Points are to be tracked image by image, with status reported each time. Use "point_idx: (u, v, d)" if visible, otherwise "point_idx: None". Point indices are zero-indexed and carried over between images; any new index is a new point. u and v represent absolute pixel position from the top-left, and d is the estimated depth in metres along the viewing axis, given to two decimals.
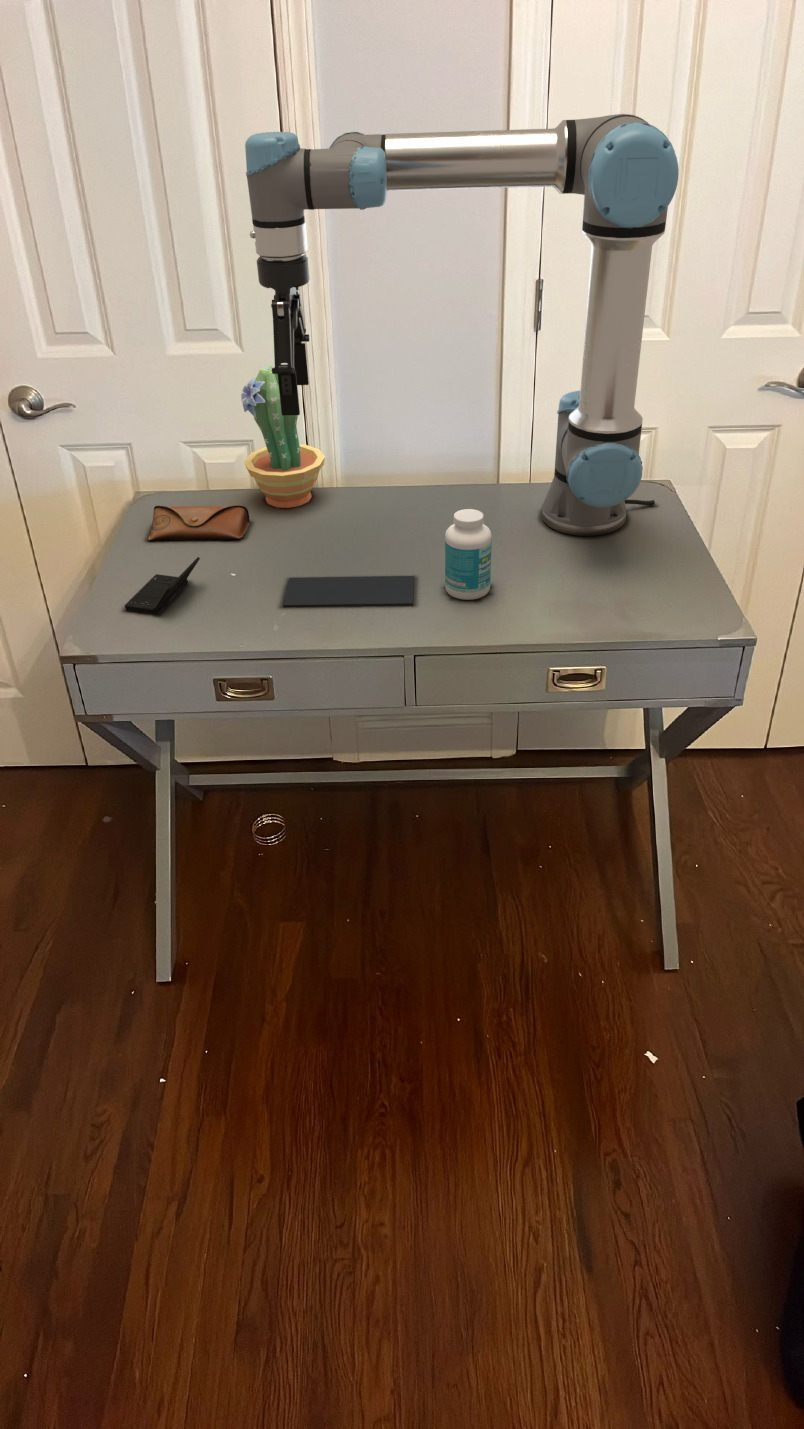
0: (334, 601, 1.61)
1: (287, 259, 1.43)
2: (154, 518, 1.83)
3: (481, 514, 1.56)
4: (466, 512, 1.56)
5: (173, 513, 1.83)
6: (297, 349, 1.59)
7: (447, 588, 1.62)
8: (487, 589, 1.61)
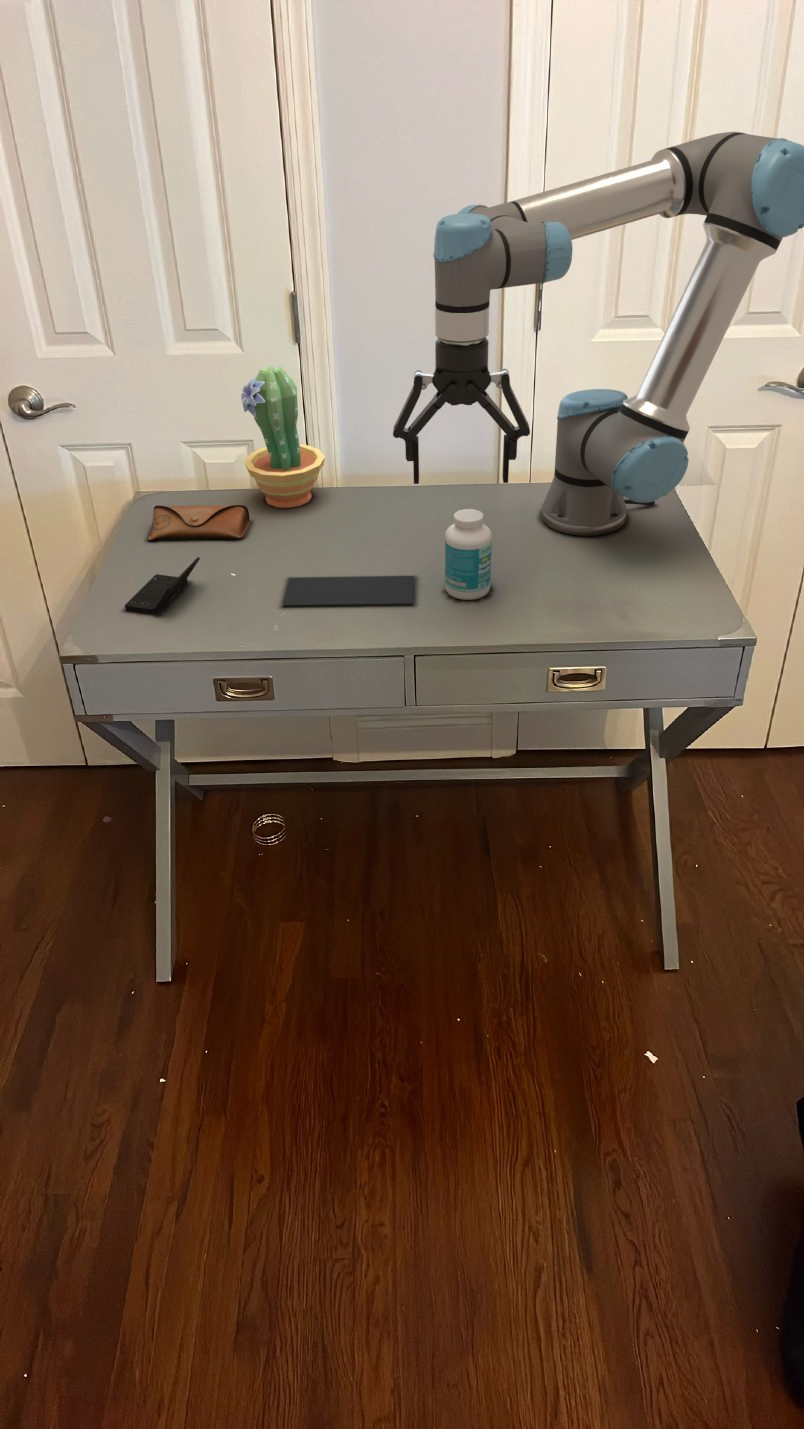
0: (334, 601, 1.61)
1: (441, 340, 1.39)
2: (154, 518, 1.83)
3: (481, 514, 1.56)
4: (466, 512, 1.56)
5: (173, 513, 1.83)
6: None
7: (447, 588, 1.62)
8: (487, 589, 1.61)
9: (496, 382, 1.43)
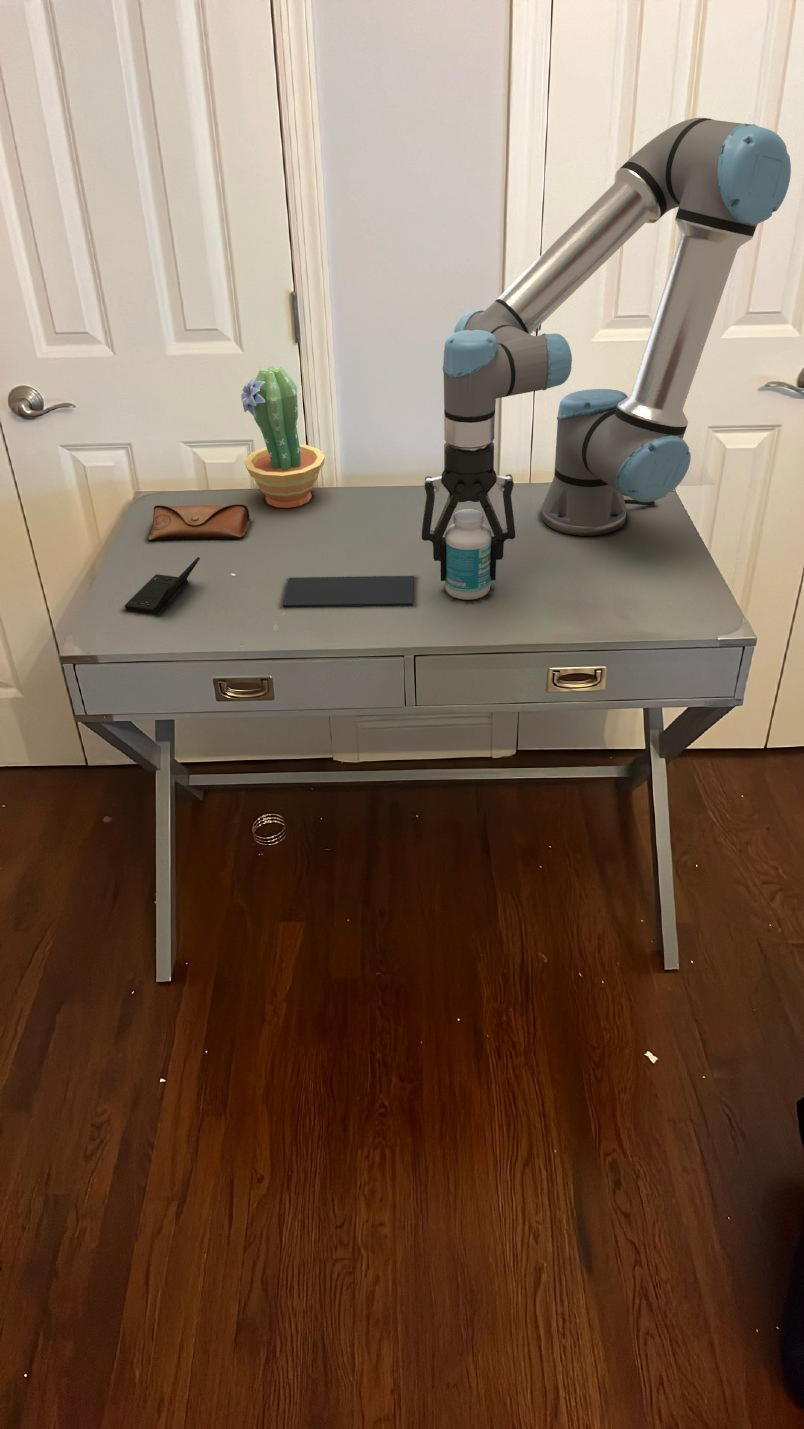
0: (334, 601, 1.61)
1: (449, 444, 1.47)
2: (154, 518, 1.83)
3: (481, 514, 1.56)
4: (466, 512, 1.56)
5: (173, 513, 1.83)
6: (491, 544, 1.58)
7: (447, 588, 1.62)
8: (487, 589, 1.61)
9: (500, 485, 1.52)
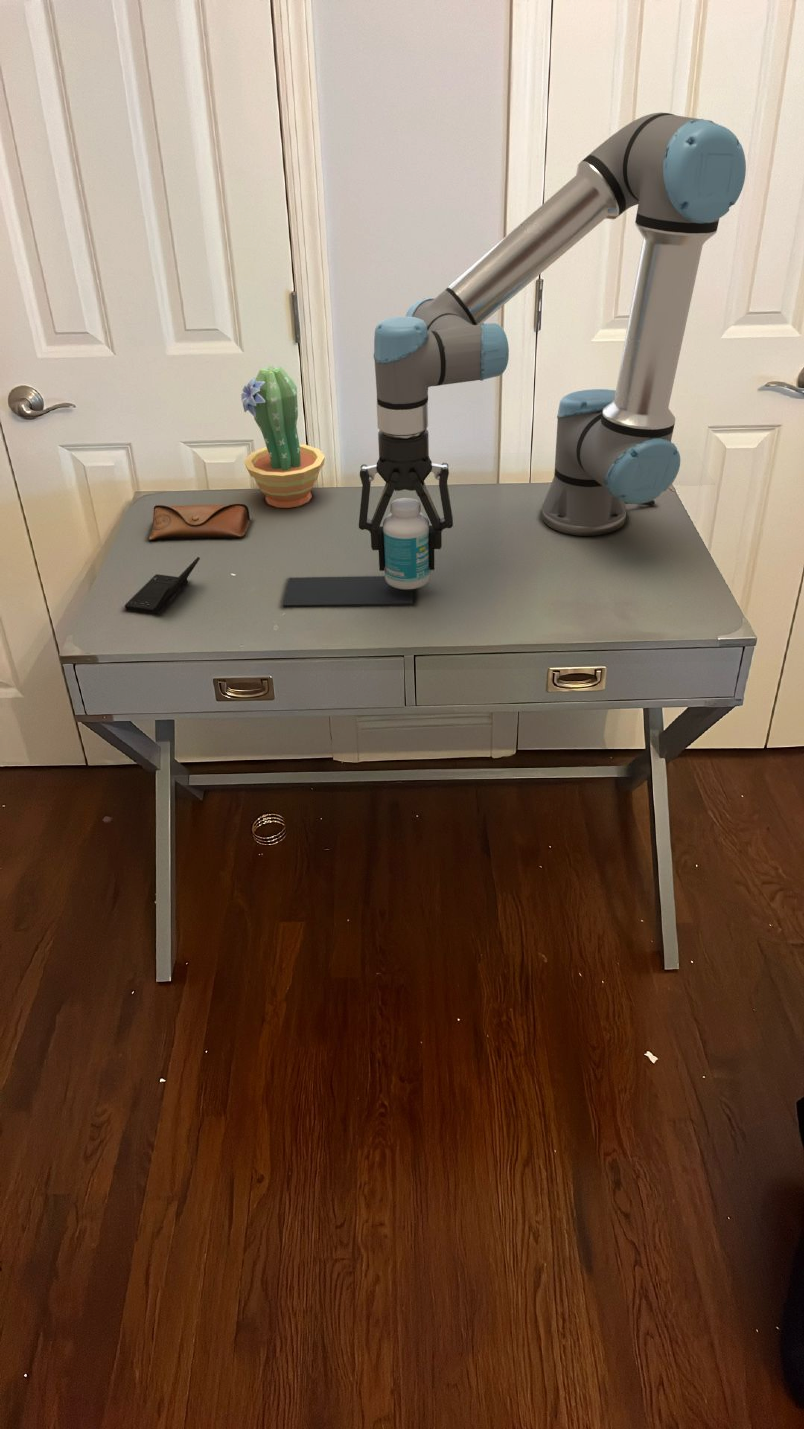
0: (334, 601, 1.61)
1: (383, 432, 1.46)
2: (154, 518, 1.83)
3: (418, 503, 1.55)
4: (403, 501, 1.55)
5: (173, 512, 1.83)
6: None
7: (386, 578, 1.61)
8: (426, 578, 1.60)
9: (435, 473, 1.51)
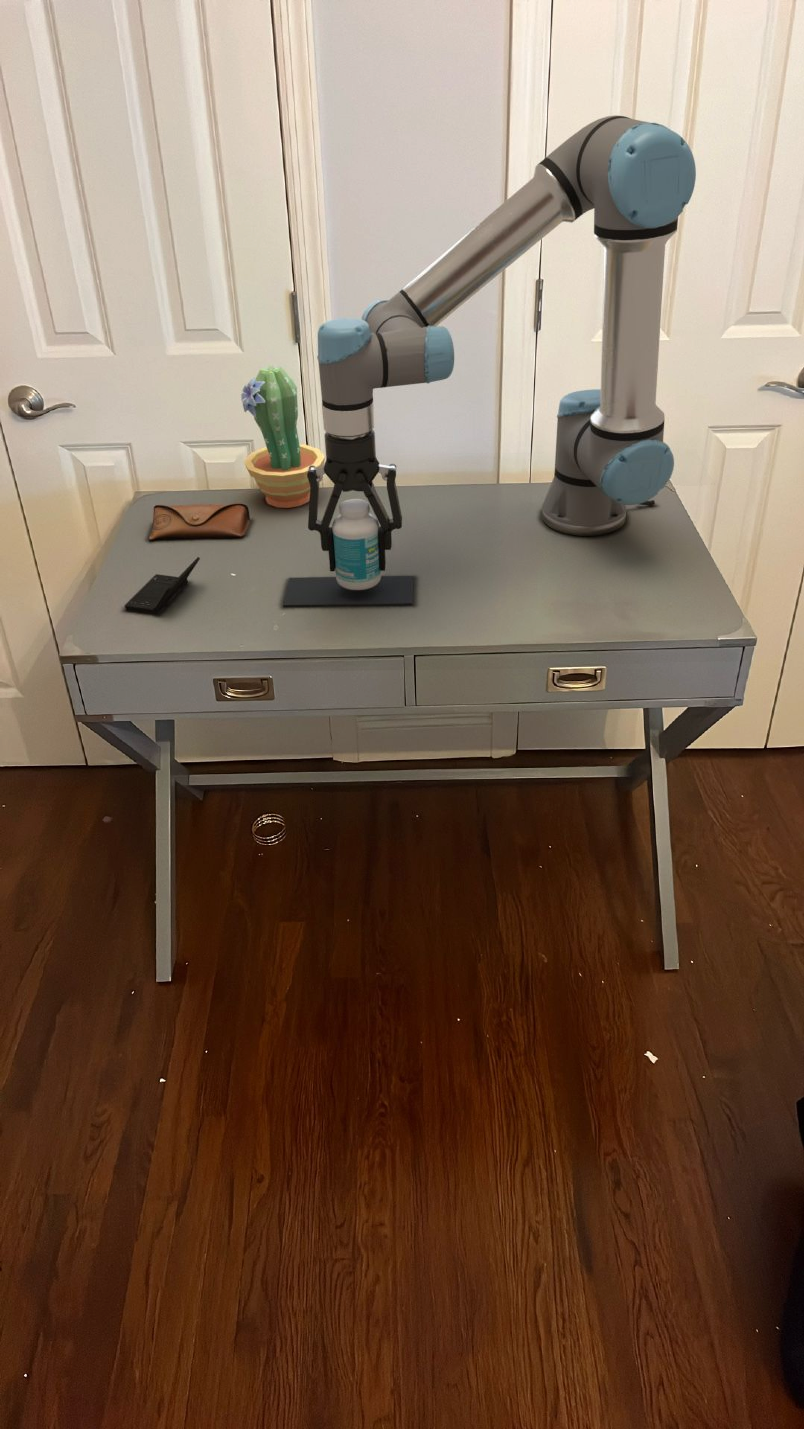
0: (334, 601, 1.61)
1: (329, 433, 1.47)
2: (154, 517, 1.83)
3: (367, 504, 1.55)
4: (352, 502, 1.56)
5: (173, 512, 1.83)
6: None
7: (337, 578, 1.61)
8: (377, 579, 1.60)
9: (383, 474, 1.51)
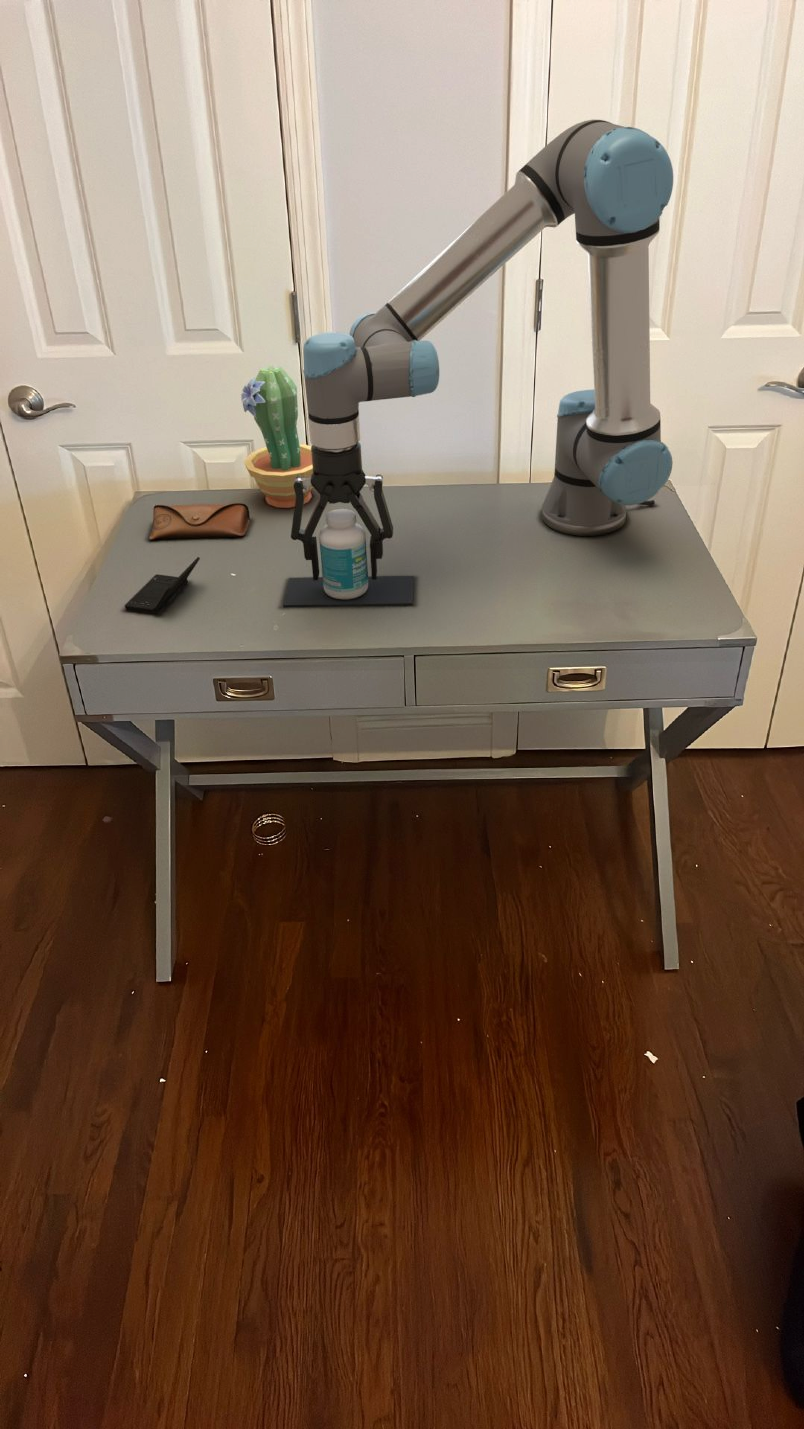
0: (334, 601, 1.61)
1: (315, 446, 1.48)
2: (154, 517, 1.83)
3: (353, 514, 1.56)
4: (339, 512, 1.57)
5: (174, 512, 1.83)
6: None
7: (324, 588, 1.62)
8: (364, 588, 1.62)
9: (369, 485, 1.52)
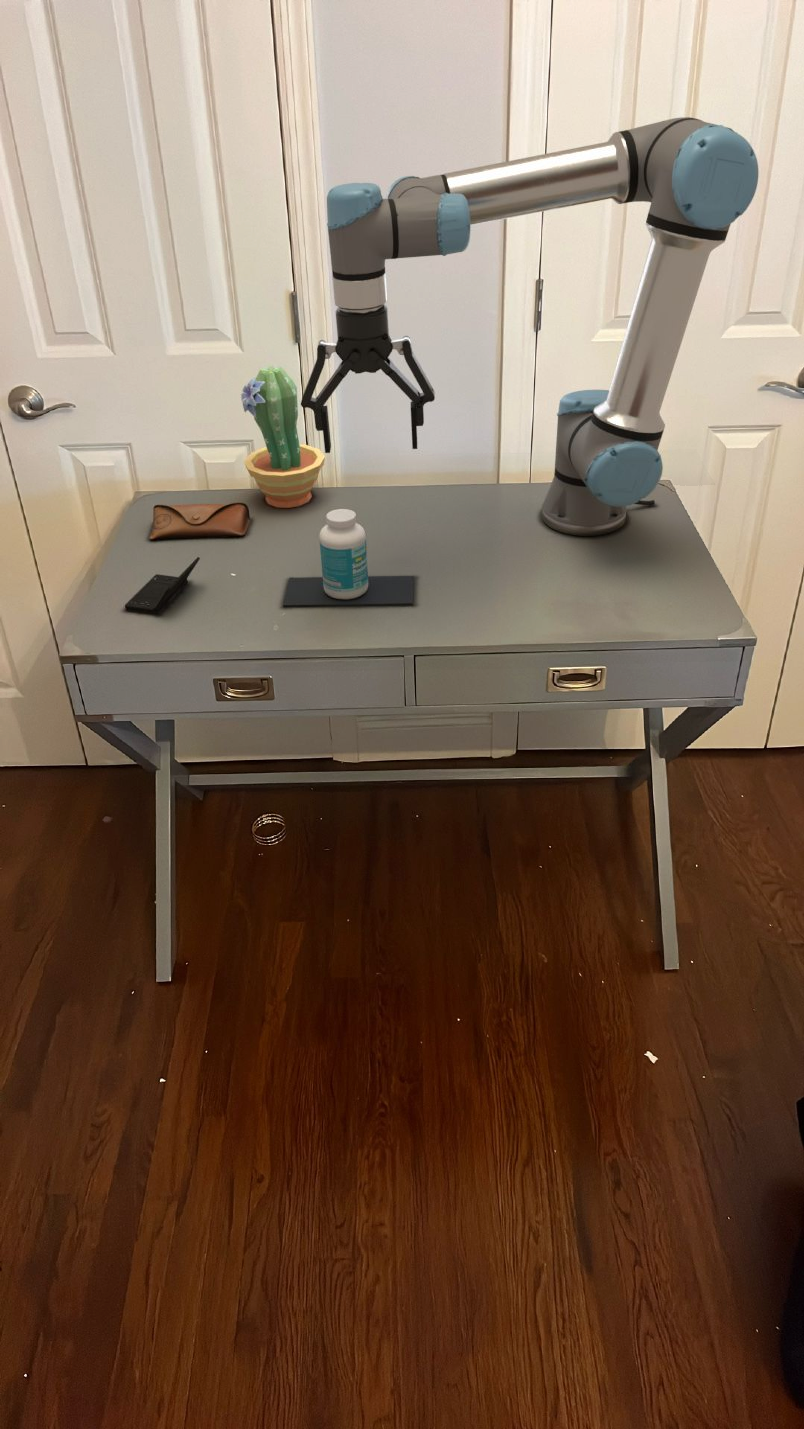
0: (334, 601, 1.61)
1: (340, 309, 1.42)
2: (155, 517, 1.83)
3: (353, 514, 1.56)
4: (339, 512, 1.57)
5: (174, 512, 1.83)
6: None
7: (324, 588, 1.62)
8: (364, 588, 1.62)
9: (398, 349, 1.46)
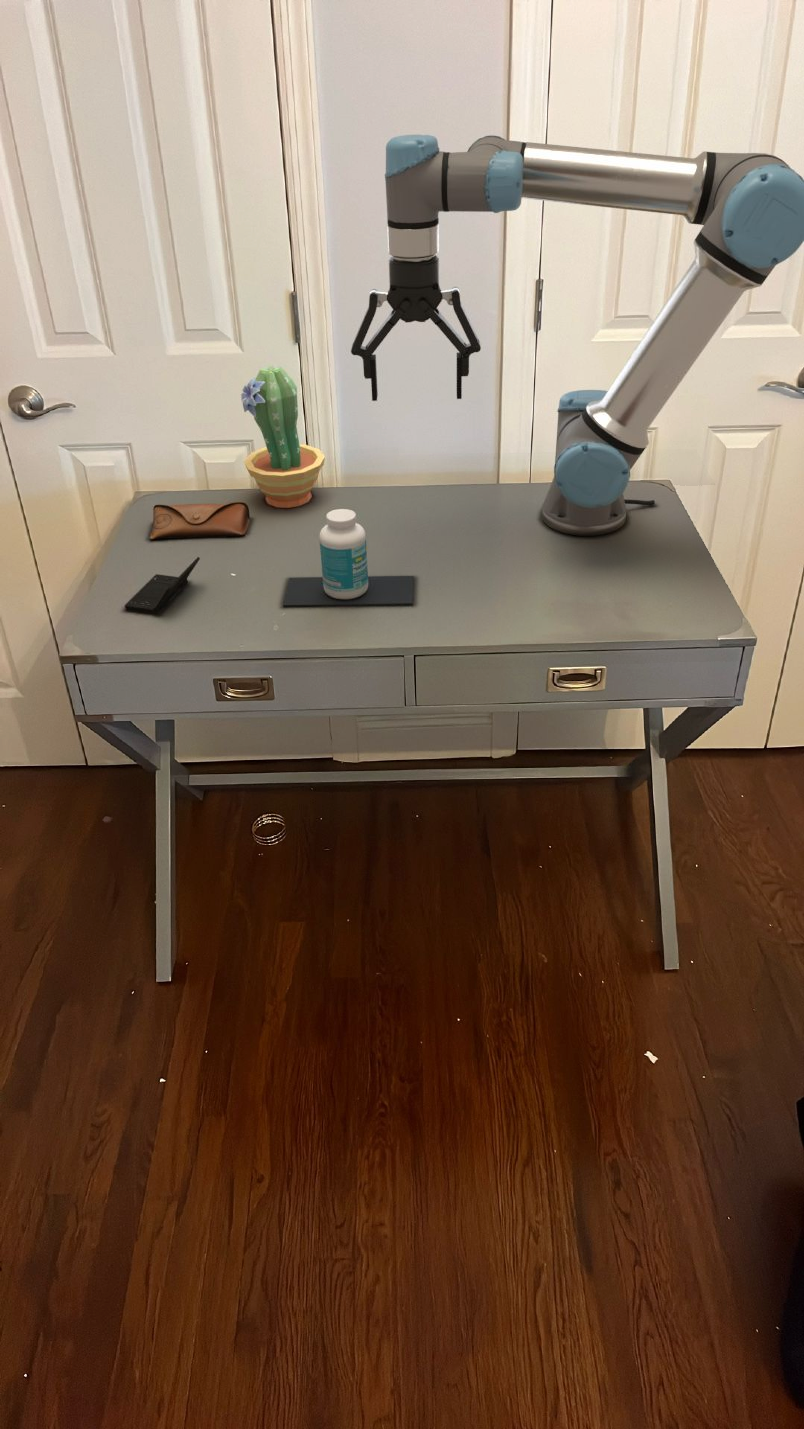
0: (334, 601, 1.61)
1: (393, 257, 1.47)
2: (155, 517, 1.83)
3: (353, 514, 1.56)
4: (339, 512, 1.57)
5: (174, 511, 1.83)
6: None
7: (324, 588, 1.62)
8: (364, 588, 1.62)
9: (447, 299, 1.51)
